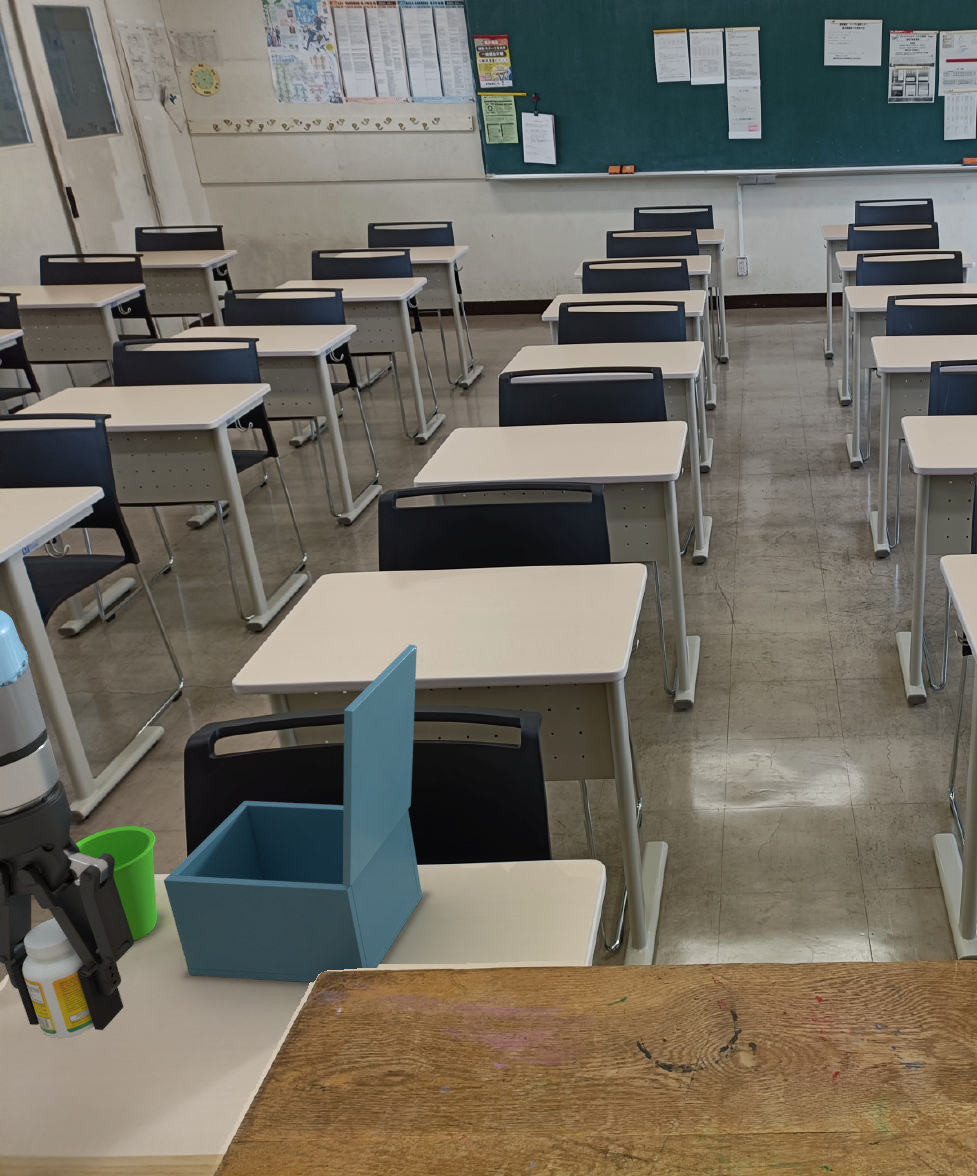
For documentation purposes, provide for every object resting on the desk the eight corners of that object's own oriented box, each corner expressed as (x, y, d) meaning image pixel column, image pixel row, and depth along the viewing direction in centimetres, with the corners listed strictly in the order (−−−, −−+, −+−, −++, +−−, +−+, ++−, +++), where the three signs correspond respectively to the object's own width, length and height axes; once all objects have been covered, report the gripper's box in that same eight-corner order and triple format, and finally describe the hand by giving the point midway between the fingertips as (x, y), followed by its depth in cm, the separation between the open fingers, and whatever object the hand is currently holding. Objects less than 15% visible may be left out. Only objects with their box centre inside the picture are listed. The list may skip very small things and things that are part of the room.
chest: (189, 975, 112) (163, 880, 108) (264, 887, 126) (244, 800, 122) (365, 985, 111) (346, 890, 106) (422, 896, 124) (408, 808, 120)
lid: (343, 709, 98) (352, 711, 98) (409, 644, 112) (417, 645, 112) (342, 885, 106) (350, 887, 106) (404, 804, 120) (410, 805, 120)
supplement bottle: (30, 1044, 90) (-1, 956, 87) (59, 999, 95) (31, 914, 92) (98, 1036, 91) (70, 949, 88) (123, 992, 96) (98, 908, 92)
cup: (127, 964, 114) (102, 881, 110) (65, 946, 117) (39, 865, 113) (194, 913, 122) (173, 834, 118) (135, 897, 125) (113, 819, 120)
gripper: (144, 775, 87) (200, 992, 96) (-61, 763, 89) (13, 978, 97) (81, 828, 80) (147, 1056, 89) (-141, 814, 82) (-54, 1040, 90)
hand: (77, 1015), depth 93 cm, fingers closed on supplement bottle, 5 cm apart
